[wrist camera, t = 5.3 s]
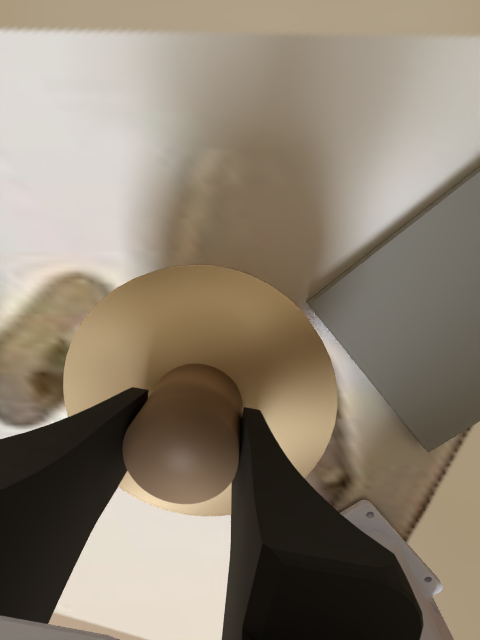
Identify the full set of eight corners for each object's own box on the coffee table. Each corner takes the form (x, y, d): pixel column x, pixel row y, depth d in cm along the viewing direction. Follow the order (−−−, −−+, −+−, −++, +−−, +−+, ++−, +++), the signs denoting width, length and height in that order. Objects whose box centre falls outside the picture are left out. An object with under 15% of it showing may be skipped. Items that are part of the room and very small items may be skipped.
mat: (608, 329, 17) (624, 333, 17) (421, 444, 20) (428, 452, 19) (498, 151, 15) (511, 146, 15) (306, 301, 18) (308, 304, 17)
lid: (382, 417, 13) (434, 491, 9) (188, 533, 15) (165, 633, 11) (220, 203, 11) (202, 184, 7) (25, 369, 13) (-67, 422, 10)
